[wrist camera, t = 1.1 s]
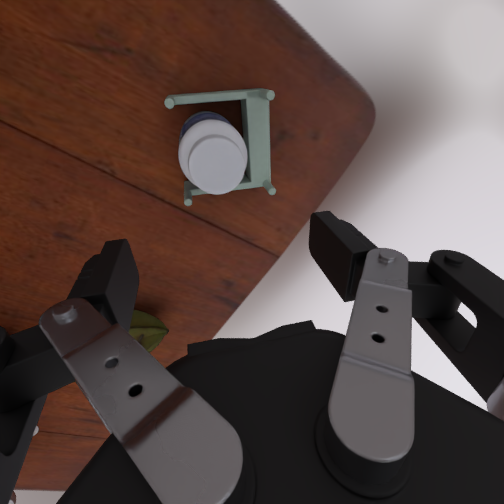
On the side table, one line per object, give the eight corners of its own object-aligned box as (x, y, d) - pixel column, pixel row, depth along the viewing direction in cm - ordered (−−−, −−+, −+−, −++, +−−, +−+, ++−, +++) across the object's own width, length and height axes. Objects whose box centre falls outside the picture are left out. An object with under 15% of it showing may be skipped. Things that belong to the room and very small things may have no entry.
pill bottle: (169, 123, 26) (162, 144, 18) (222, 101, 26) (239, 112, 18) (194, 176, 29) (198, 214, 21) (242, 156, 29) (264, 187, 21)
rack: (184, 187, 30) (184, 206, 25) (167, 94, 25) (163, 98, 21) (264, 177, 31) (277, 194, 26) (260, 87, 26) (276, 89, 22)
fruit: (67, 287, 33) (44, 329, 27) (171, 303, 37) (169, 342, 32) (59, 353, 38) (38, 401, 32) (152, 361, 42) (148, 403, 37)
